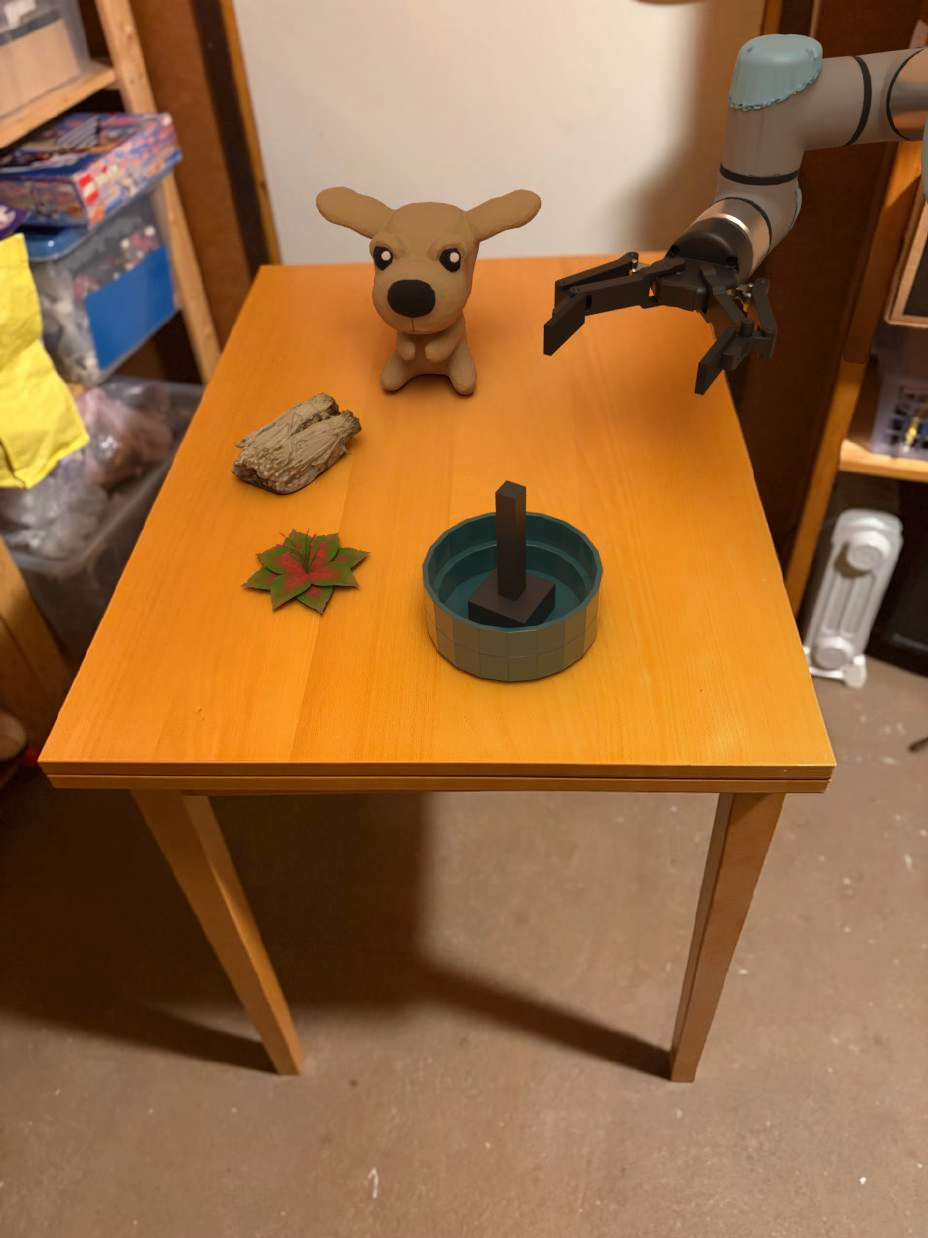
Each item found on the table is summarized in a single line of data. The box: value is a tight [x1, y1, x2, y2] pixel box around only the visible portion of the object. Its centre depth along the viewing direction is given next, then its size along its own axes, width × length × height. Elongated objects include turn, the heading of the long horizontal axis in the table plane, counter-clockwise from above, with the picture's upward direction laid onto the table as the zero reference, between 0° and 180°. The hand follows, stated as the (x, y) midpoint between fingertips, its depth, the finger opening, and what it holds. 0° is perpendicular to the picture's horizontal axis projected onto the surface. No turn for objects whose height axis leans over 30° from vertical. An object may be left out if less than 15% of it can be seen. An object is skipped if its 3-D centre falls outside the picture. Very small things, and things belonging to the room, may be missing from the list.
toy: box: [315, 186, 542, 395], centre depth 105 cm, size 25×20×20 cm
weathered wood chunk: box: [230, 392, 363, 495], centre depth 99 cm, size 14×10×5 cm, turn 142°
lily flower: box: [239, 528, 372, 615], centre depth 86 cm, size 12×12×5 cm
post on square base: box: [468, 479, 556, 628], centre depth 77 cm, size 6×6×14 cm
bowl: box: [421, 510, 604, 682], centre depth 80 cm, size 15×15×6 cm
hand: (621, 359), depth 76 cm, fingers open, 13 cm apart
